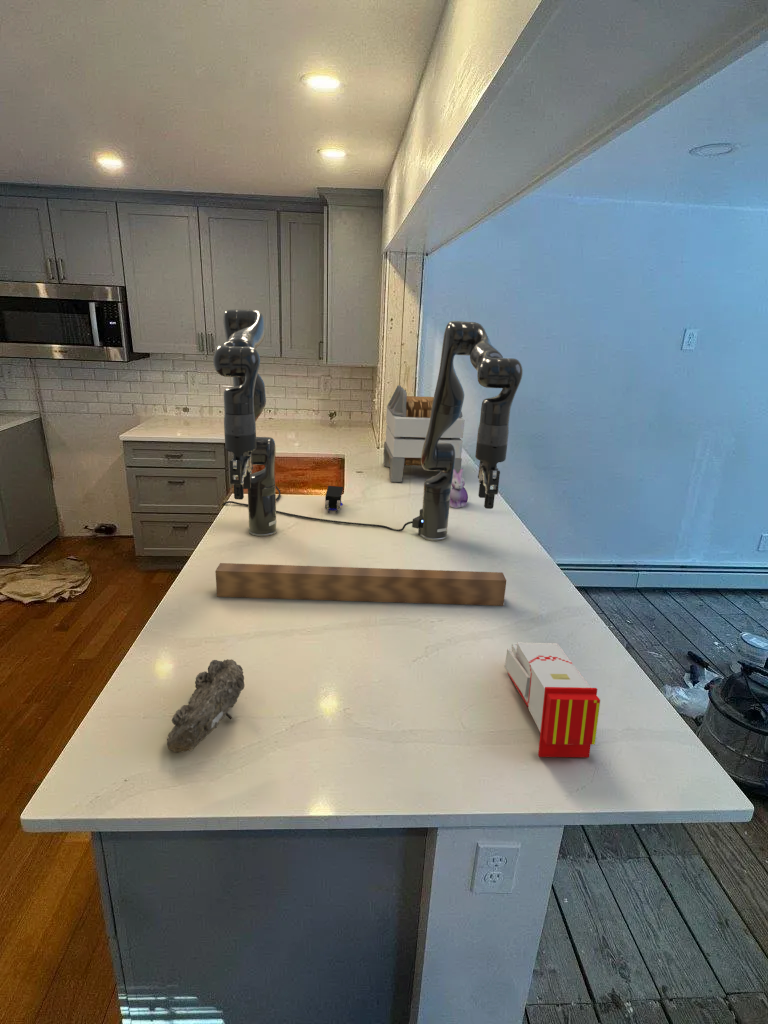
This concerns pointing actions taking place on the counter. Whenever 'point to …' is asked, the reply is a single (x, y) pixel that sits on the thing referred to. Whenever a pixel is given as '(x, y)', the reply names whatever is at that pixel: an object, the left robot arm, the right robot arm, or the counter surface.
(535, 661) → the toy
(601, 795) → the counter surface
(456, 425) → the transformer
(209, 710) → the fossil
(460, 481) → the figurine
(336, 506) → the figurine character
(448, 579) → the post
